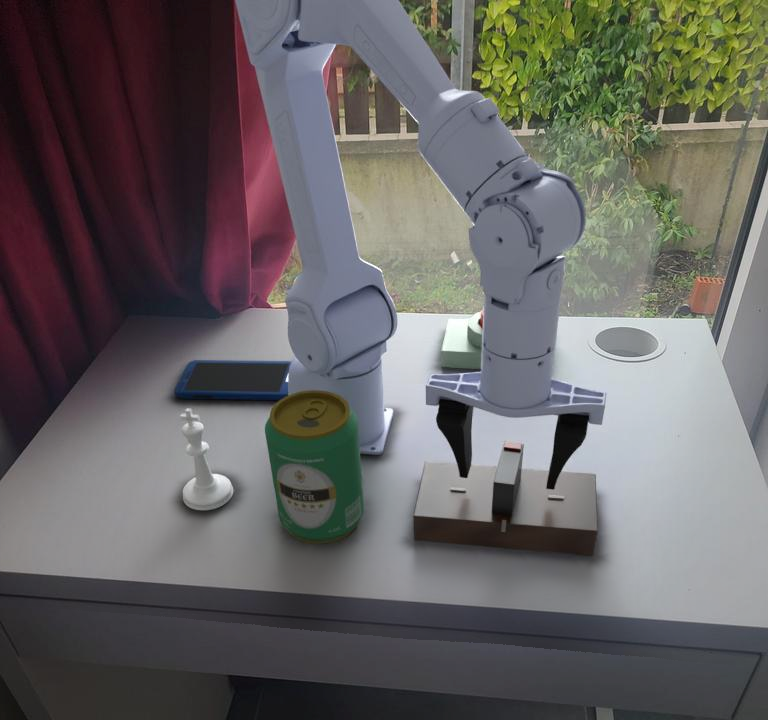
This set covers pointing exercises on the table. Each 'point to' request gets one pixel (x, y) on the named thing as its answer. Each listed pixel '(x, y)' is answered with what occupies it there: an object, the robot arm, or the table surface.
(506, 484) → the dark grey rectangular block
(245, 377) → the cell phone
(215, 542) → the table surface
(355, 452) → the beverage can
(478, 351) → the button box
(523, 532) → the panel
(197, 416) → the chess piece
